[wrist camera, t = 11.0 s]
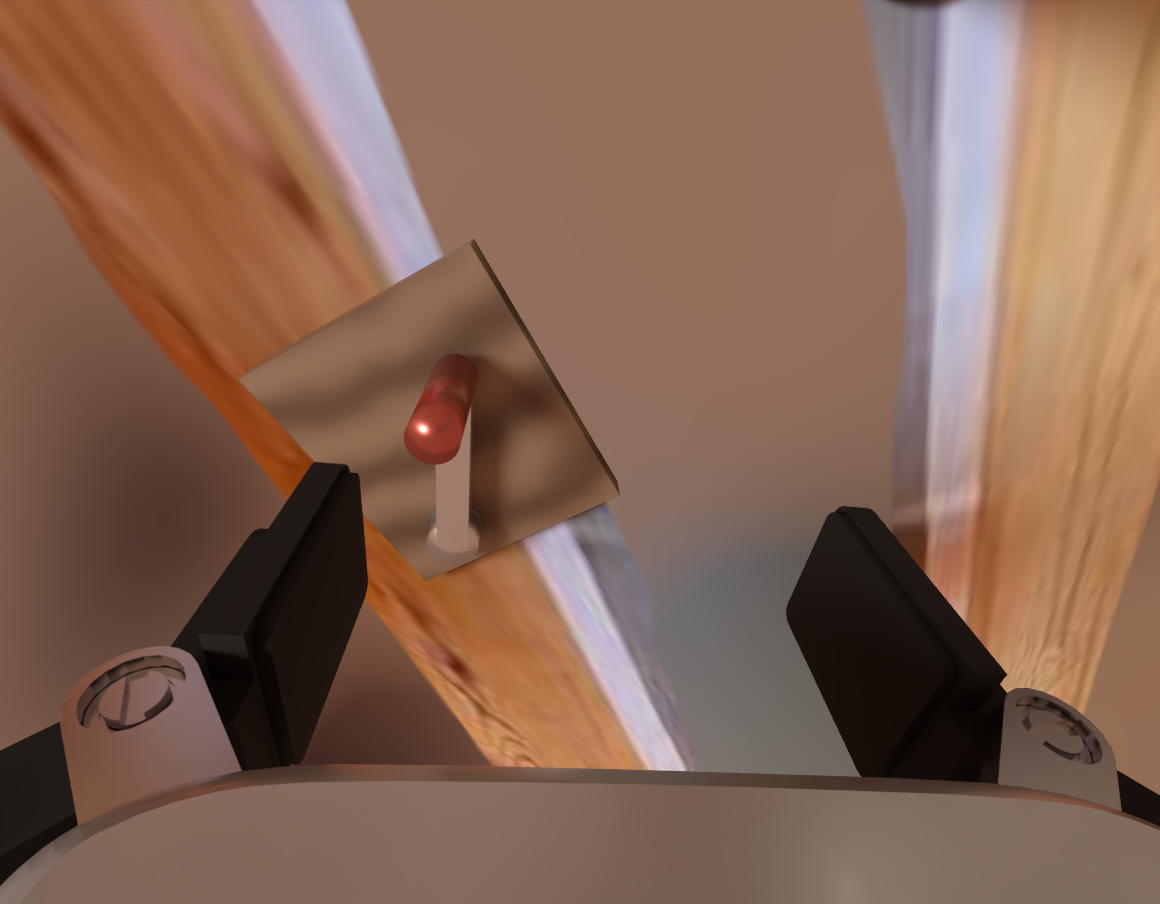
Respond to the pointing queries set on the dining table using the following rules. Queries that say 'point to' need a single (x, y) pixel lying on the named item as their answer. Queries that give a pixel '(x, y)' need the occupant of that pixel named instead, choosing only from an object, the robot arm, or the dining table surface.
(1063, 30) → the dining table surface
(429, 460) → the lever
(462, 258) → the lever board
